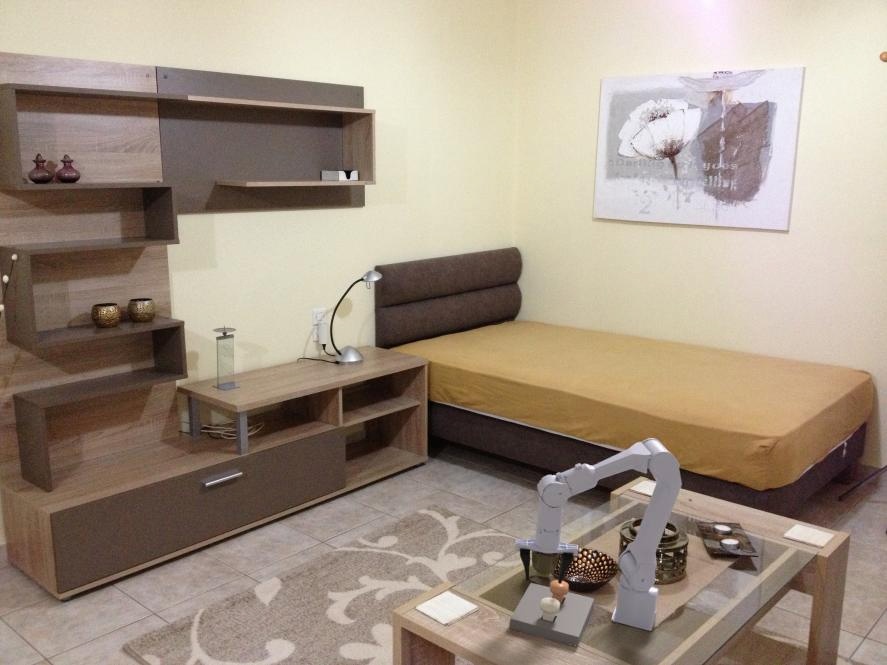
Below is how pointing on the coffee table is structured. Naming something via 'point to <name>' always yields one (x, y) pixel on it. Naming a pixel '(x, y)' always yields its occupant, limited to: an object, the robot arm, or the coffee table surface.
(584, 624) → the button panel
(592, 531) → the coffee table surface
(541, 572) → the cup
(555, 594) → the terracotta button
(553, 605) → the white rounded piece
